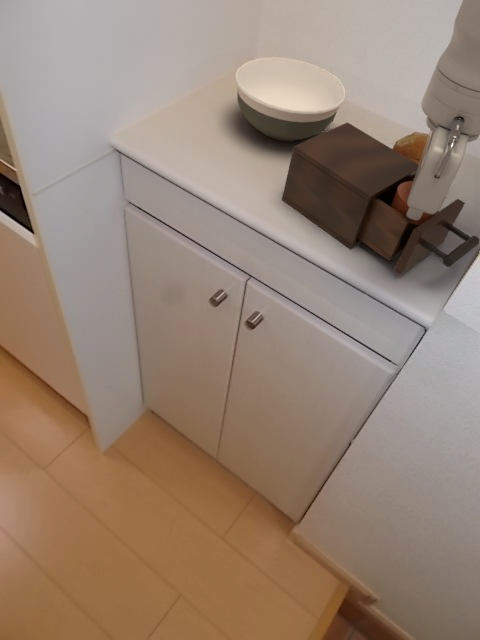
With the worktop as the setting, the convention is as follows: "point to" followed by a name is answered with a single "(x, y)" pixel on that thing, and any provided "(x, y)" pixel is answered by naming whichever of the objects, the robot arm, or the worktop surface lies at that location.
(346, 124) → the cabinet
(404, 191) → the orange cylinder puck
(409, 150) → the bread roll
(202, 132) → the worktop surface
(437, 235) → the drawer
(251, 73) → the bowl
